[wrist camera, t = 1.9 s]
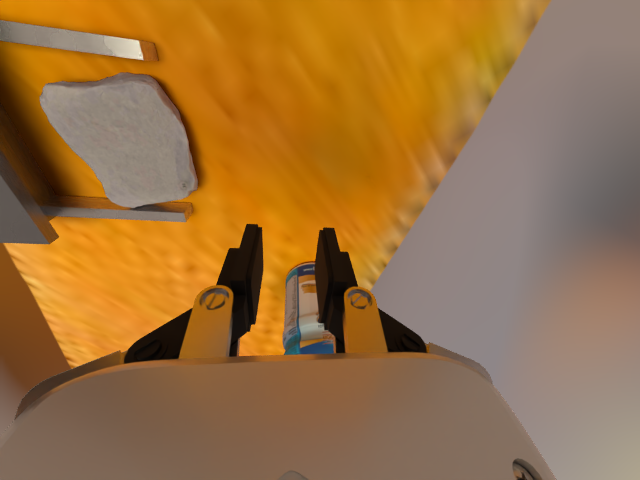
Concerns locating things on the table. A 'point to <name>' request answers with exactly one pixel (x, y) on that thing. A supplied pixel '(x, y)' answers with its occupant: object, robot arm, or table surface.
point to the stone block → (125, 136)
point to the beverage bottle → (304, 315)
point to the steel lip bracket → (24, 173)
